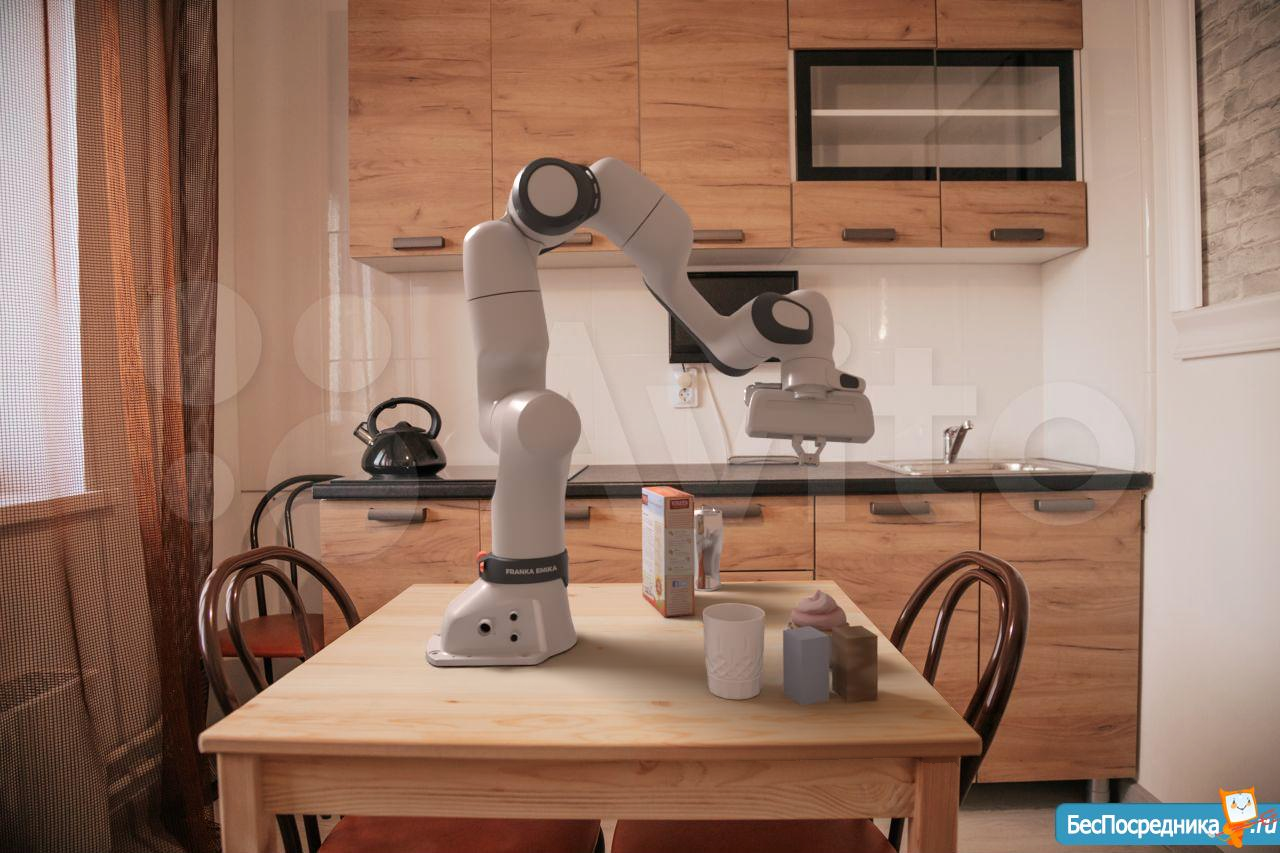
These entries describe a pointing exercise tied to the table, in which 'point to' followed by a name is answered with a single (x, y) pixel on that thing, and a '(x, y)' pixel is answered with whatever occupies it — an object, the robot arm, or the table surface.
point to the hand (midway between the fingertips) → (809, 465)
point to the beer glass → (707, 549)
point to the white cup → (734, 649)
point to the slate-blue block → (806, 665)
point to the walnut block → (855, 664)
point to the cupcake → (819, 616)
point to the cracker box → (668, 550)
